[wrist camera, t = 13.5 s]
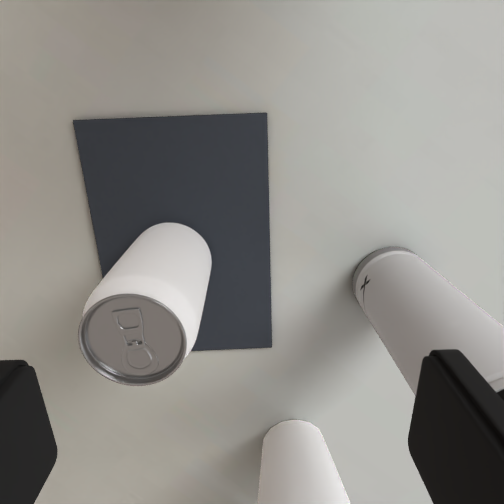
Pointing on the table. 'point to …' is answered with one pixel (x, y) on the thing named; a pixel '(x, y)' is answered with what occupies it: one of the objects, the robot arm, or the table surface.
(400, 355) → the travel mug
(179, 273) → the can
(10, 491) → the robot arm
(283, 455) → the foam cup
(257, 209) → the mat
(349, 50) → the table surface
